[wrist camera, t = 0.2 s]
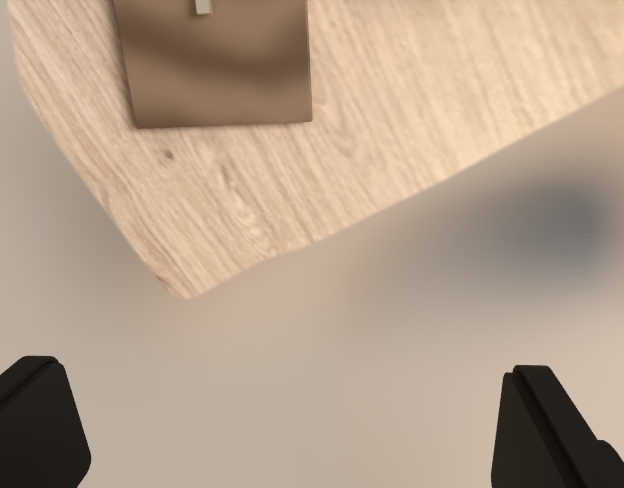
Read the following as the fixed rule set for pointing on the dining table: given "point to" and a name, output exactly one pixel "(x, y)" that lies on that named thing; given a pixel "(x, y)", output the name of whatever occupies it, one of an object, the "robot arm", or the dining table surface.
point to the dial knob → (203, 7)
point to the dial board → (216, 62)
